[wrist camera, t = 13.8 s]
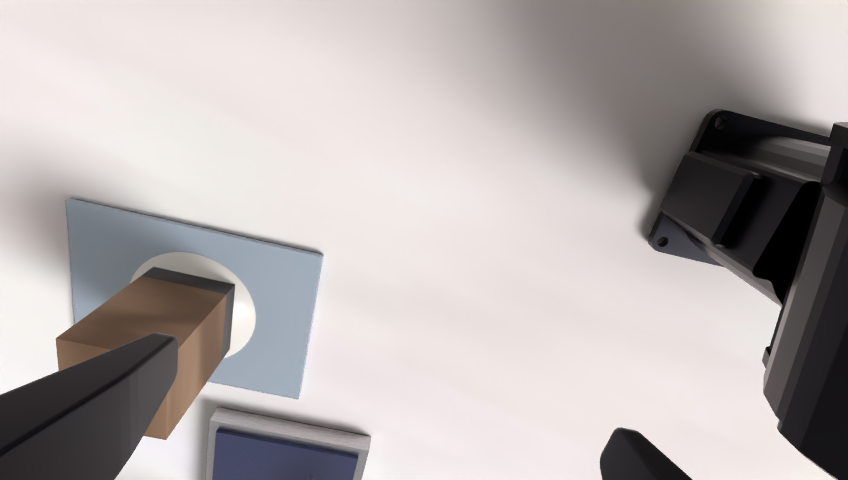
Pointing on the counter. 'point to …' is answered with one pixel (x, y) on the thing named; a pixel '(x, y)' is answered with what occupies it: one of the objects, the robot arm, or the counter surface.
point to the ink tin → (280, 449)
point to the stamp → (161, 313)
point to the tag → (214, 259)
